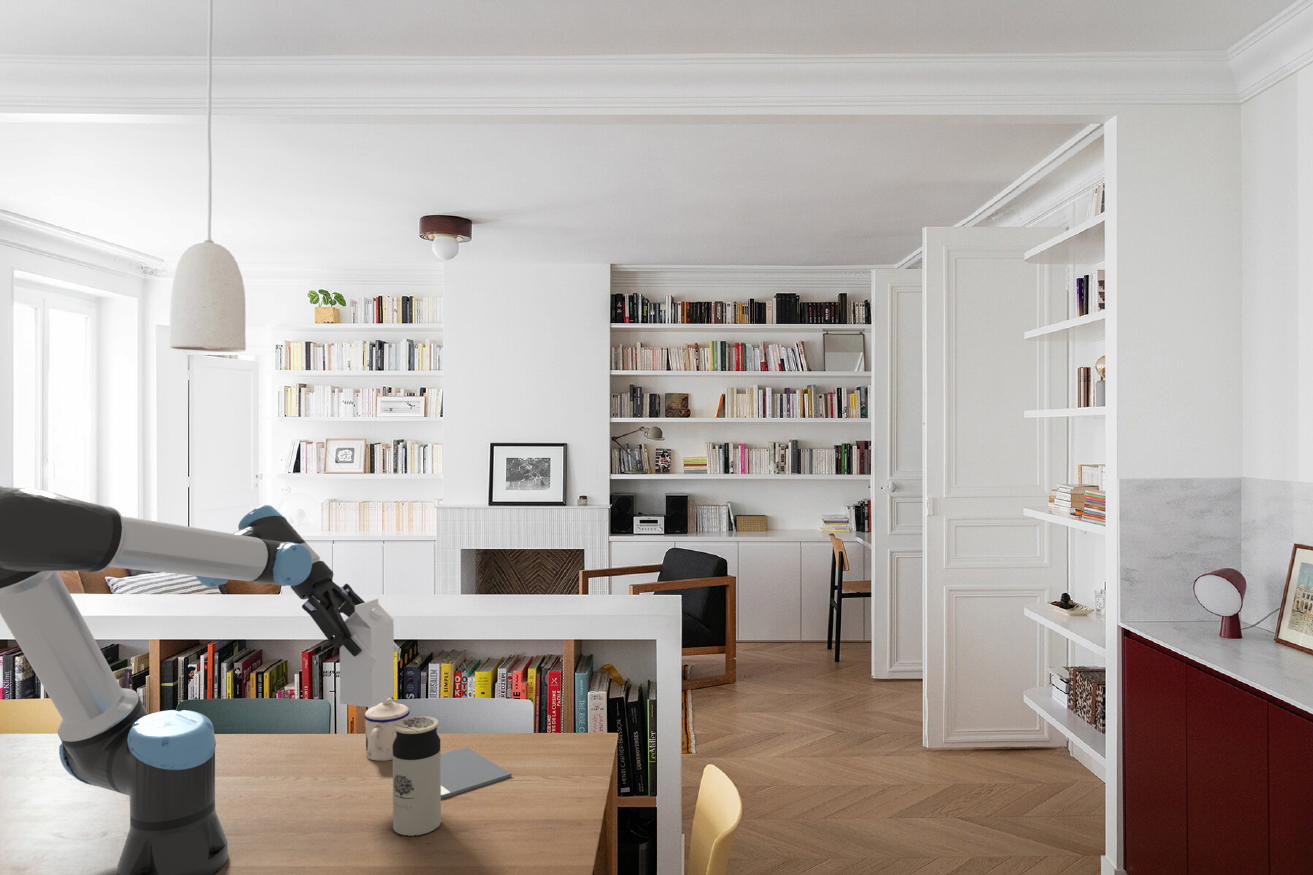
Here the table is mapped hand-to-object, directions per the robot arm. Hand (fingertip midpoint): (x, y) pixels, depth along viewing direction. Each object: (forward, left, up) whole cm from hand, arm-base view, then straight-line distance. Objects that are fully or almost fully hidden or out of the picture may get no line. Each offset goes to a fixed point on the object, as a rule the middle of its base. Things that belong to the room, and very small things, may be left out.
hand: (383, 659), depth 162 cm
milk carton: (+3, +2, -8) cm, 9 cm away
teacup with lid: (+15, -6, -25) cm, 30 cm away
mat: (-2, -13, -25) cm, 28 cm away
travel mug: (-18, +2, -25) cm, 31 cm away
